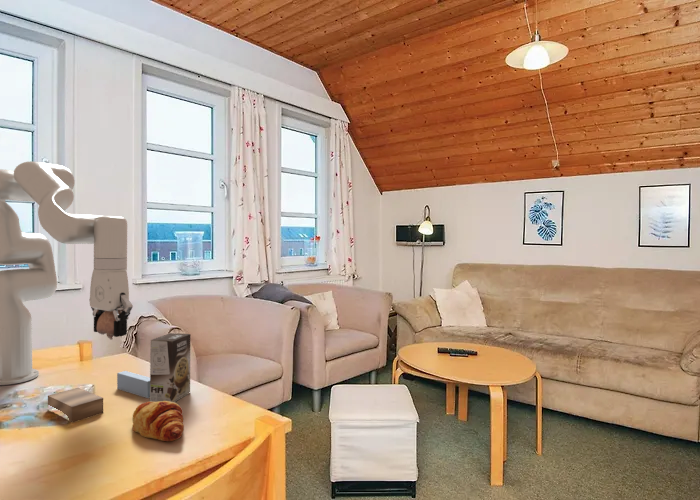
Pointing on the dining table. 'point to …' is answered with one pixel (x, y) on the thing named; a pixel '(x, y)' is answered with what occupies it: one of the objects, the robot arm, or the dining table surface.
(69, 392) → the slab
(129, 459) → the dining table surface
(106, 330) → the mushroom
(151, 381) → the coffee box
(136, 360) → the dining table surface
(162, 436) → the croissant
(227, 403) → the dining table surface
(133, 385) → the rail
